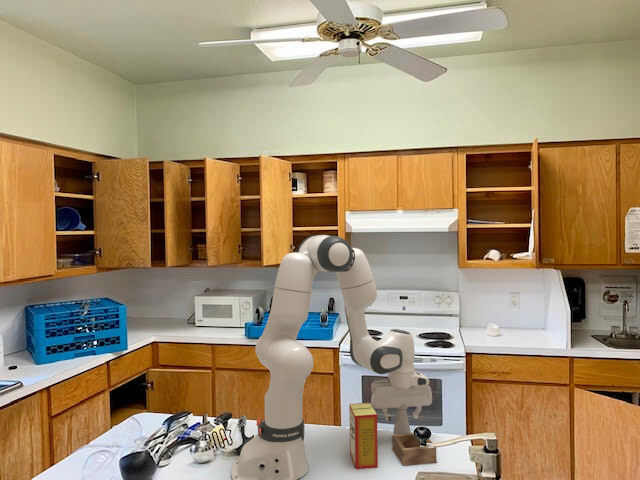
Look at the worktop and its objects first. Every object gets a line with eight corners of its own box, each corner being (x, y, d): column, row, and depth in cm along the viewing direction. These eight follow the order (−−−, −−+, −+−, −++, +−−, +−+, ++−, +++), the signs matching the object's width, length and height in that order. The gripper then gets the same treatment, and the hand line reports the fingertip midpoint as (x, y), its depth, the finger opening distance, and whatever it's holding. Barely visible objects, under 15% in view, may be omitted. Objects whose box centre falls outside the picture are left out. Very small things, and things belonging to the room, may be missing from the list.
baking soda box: (377, 467, 131) (377, 413, 131) (355, 469, 130) (355, 414, 130) (370, 451, 140) (369, 401, 140) (350, 453, 139) (349, 402, 139)
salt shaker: (410, 444, 145) (410, 404, 145) (393, 442, 146) (392, 403, 146) (410, 436, 150) (410, 398, 150) (393, 435, 152) (393, 397, 151)
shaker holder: (403, 465, 131) (402, 450, 131) (392, 449, 142) (392, 434, 142) (436, 462, 133) (436, 447, 133) (423, 446, 143) (423, 432, 143)
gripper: (373, 383, 143) (374, 425, 144) (433, 379, 146) (434, 421, 146) (368, 377, 150) (369, 417, 150) (426, 373, 153) (427, 413, 153)
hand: (401, 419), depth 148 cm, fingers open, 8 cm apart
